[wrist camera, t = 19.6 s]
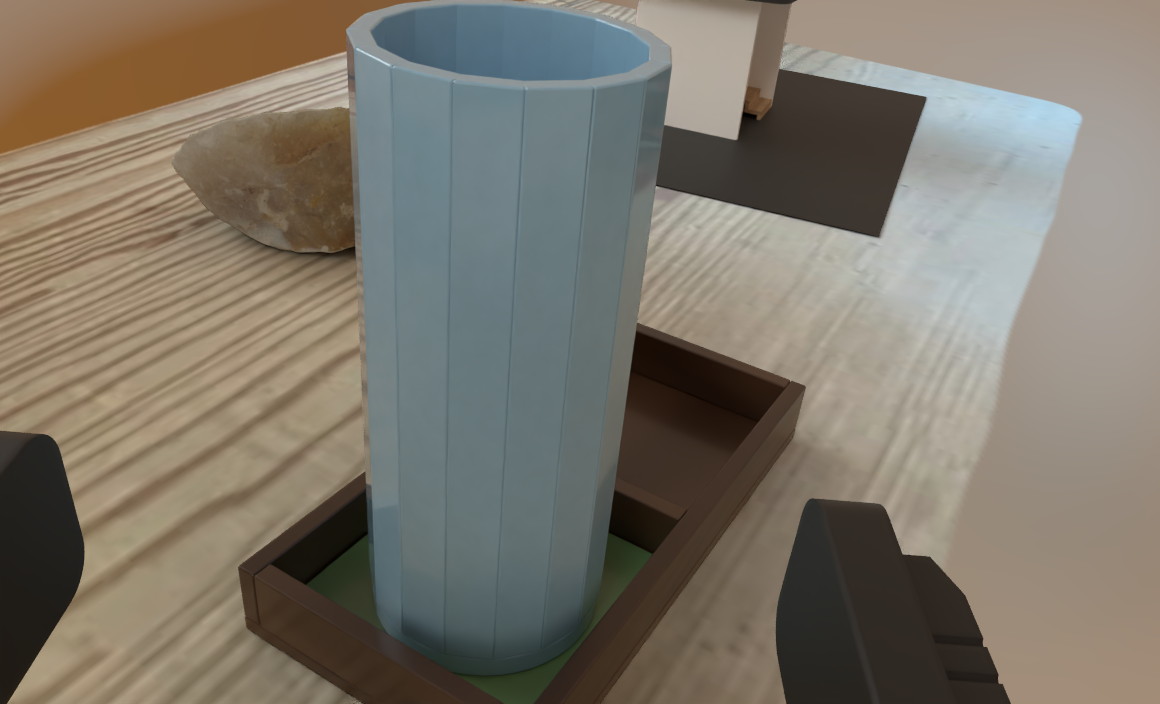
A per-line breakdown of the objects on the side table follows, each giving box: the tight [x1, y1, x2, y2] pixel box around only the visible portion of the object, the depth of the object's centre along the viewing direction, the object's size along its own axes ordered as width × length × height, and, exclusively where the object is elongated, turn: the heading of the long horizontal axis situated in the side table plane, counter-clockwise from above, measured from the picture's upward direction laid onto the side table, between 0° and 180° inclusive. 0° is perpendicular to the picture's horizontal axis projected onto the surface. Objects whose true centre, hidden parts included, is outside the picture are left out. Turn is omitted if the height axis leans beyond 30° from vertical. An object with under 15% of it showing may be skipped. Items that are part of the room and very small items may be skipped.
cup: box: [346, 0, 672, 676], centre depth 20 cm, size 5×5×13 cm
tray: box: [238, 323, 806, 704], centre depth 26 cm, size 8×15×2 cm, turn 149°
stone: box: [172, 107, 355, 253], centre depth 39 cm, size 7×6×15 cm
